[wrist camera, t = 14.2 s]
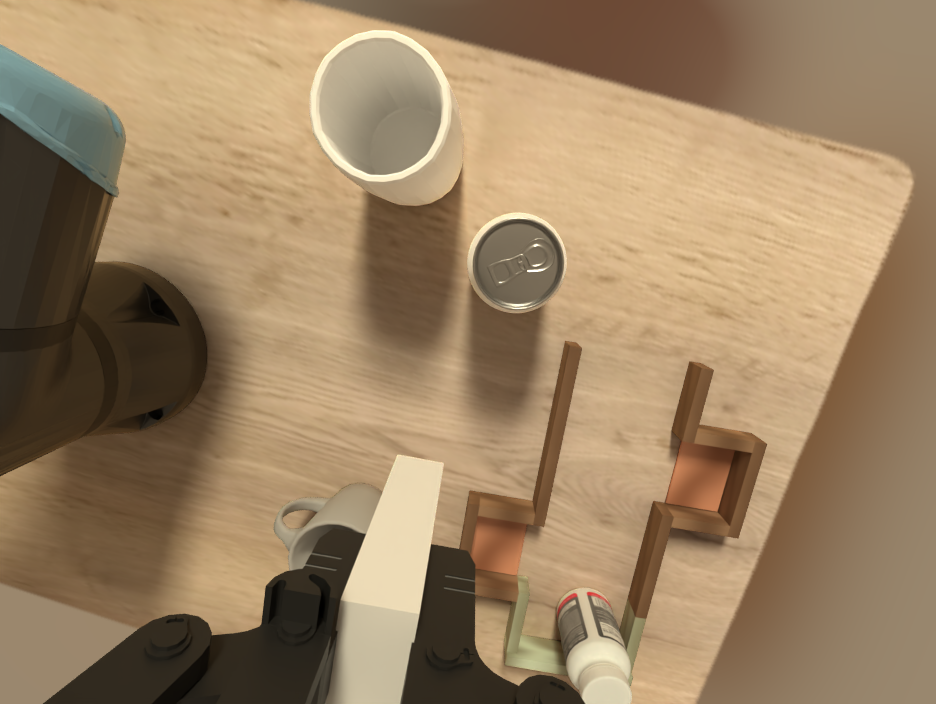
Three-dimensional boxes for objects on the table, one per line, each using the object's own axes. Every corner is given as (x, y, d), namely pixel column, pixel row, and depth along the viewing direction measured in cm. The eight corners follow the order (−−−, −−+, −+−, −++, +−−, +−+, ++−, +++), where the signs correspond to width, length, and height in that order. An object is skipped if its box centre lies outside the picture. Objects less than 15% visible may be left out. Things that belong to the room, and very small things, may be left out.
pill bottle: (562, 638, 49) (580, 731, 39) (549, 591, 48) (565, 676, 38) (616, 626, 48) (647, 719, 39) (604, 580, 48) (633, 663, 38)
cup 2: (449, 87, 39) (429, -3, 25) (481, 192, 41) (477, 161, 27) (351, 123, 40) (278, 55, 26) (385, 224, 42) (334, 210, 28)
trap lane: (445, 630, 49) (442, 654, 46) (497, 329, 43) (498, 335, 40) (681, 670, 49) (693, 697, 46) (769, 374, 43) (789, 383, 40)
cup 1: (384, 556, 48) (362, 620, 40) (288, 517, 47) (246, 574, 39) (413, 491, 46) (397, 543, 38) (315, 450, 46) (276, 494, 38)
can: (559, 279, 42) (588, 290, 30) (490, 311, 43) (492, 333, 31) (529, 208, 41) (546, 190, 29) (459, 242, 42) (447, 238, 30)
